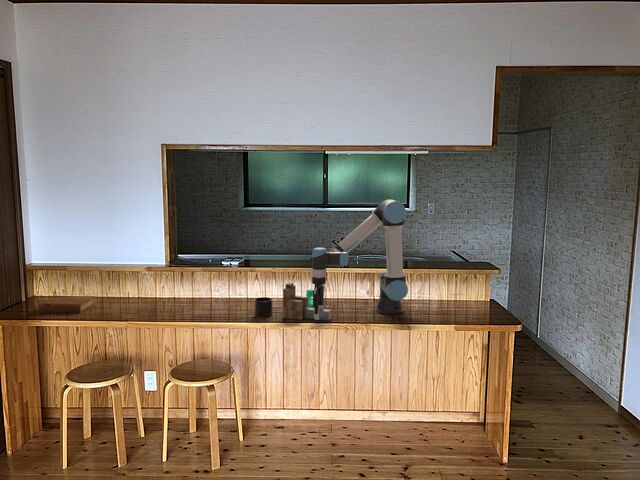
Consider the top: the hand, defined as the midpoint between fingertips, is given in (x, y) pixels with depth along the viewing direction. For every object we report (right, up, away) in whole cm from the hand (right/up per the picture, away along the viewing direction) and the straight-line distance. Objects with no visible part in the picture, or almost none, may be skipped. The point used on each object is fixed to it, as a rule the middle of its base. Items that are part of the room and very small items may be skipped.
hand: (318, 318), depth 276 cm
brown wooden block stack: (-12, +1, +4) cm, 13 cm away
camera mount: (-3, +3, +25) cm, 25 cm away
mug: (-30, +1, +7) cm, 31 cm away
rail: (-3, 0, +1) cm, 3 cm away
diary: (-145, +2, +16) cm, 146 cm away
